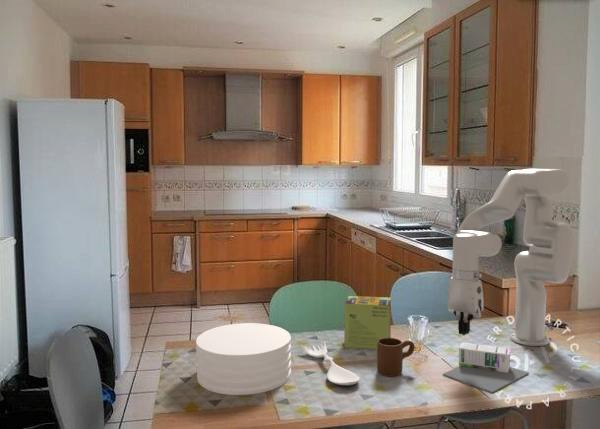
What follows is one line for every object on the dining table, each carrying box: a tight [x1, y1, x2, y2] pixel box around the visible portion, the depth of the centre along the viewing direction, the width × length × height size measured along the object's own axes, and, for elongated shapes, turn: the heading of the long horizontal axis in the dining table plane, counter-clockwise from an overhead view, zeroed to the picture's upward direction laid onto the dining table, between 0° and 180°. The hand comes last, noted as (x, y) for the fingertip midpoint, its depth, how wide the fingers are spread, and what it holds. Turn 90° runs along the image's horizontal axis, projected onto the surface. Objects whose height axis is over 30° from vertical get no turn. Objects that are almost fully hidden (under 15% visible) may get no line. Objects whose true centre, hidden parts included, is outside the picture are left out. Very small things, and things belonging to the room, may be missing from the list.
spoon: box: [299, 341, 361, 386], centre depth 161 cm, size 9×32×4 cm, turn 18°
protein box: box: [343, 295, 392, 350], centre depth 182 cm, size 10×15×16 cm
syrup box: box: [458, 342, 511, 373], centre depth 160 cm, size 6×6×14 cm
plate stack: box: [195, 322, 292, 396], centre depth 157 cm, size 28×28×12 cm
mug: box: [376, 337, 416, 377], centre depth 158 cm, size 12×8×9 cm, turn 106°
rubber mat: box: [442, 365, 529, 394], centre depth 155 cm, size 20×16×1 cm
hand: (463, 333), depth 160 cm, fingers closed
